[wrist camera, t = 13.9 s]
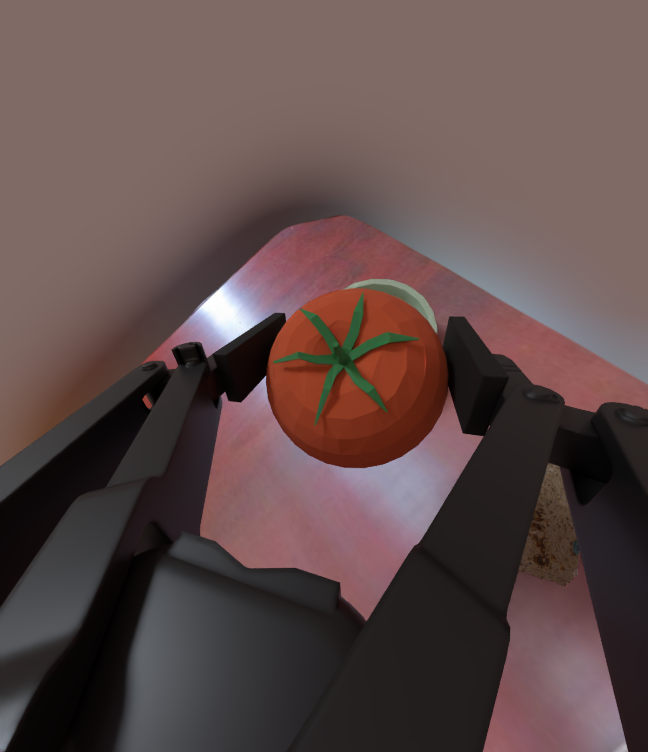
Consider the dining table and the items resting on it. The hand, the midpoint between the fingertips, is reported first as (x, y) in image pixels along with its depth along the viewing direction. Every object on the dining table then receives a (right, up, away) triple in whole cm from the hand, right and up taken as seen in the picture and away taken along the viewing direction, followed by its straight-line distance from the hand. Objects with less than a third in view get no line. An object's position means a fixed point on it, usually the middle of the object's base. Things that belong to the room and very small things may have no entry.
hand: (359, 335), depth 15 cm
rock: (+20, -18, +10) cm, 28 cm away
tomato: (+1, -4, +3) cm, 5 cm away
